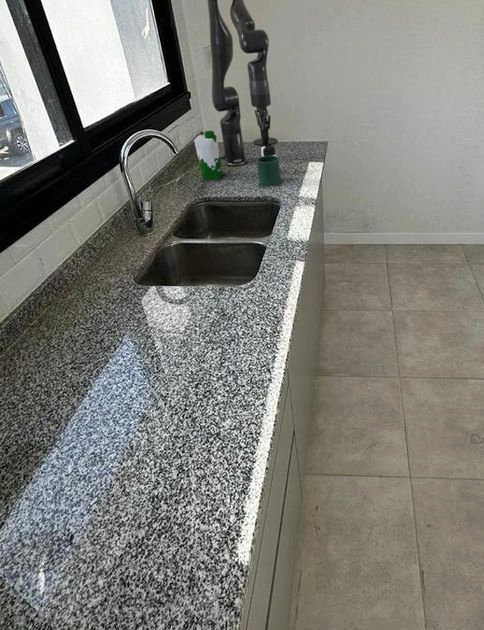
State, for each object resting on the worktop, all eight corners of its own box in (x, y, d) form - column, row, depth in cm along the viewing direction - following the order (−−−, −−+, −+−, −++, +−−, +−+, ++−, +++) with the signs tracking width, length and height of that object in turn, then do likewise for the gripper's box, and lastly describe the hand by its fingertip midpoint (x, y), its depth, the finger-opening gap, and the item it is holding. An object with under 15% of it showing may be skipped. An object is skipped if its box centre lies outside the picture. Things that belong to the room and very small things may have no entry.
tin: (257, 182, 191) (254, 157, 185) (277, 178, 194) (274, 154, 188) (263, 189, 184) (260, 164, 178) (284, 185, 187) (281, 160, 181)
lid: (250, 142, 181) (248, 127, 178) (273, 139, 184) (271, 123, 181) (257, 148, 174) (255, 132, 170) (281, 145, 177) (279, 129, 173)
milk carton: (220, 181, 193) (211, 134, 181) (200, 182, 194) (190, 135, 182) (225, 175, 200) (217, 129, 188) (205, 175, 201) (196, 129, 189)
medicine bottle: (279, 171, 202) (277, 144, 194) (276, 176, 196) (273, 149, 189) (264, 171, 202) (261, 144, 195) (261, 176, 197) (257, 149, 189)
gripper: (274, 93, 163) (279, 141, 174) (263, 88, 174) (268, 133, 184) (255, 96, 161) (261, 144, 172) (245, 90, 172) (251, 136, 182)
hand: (265, 138), depth 178 cm, fingers closed on lid, 2 cm apart
